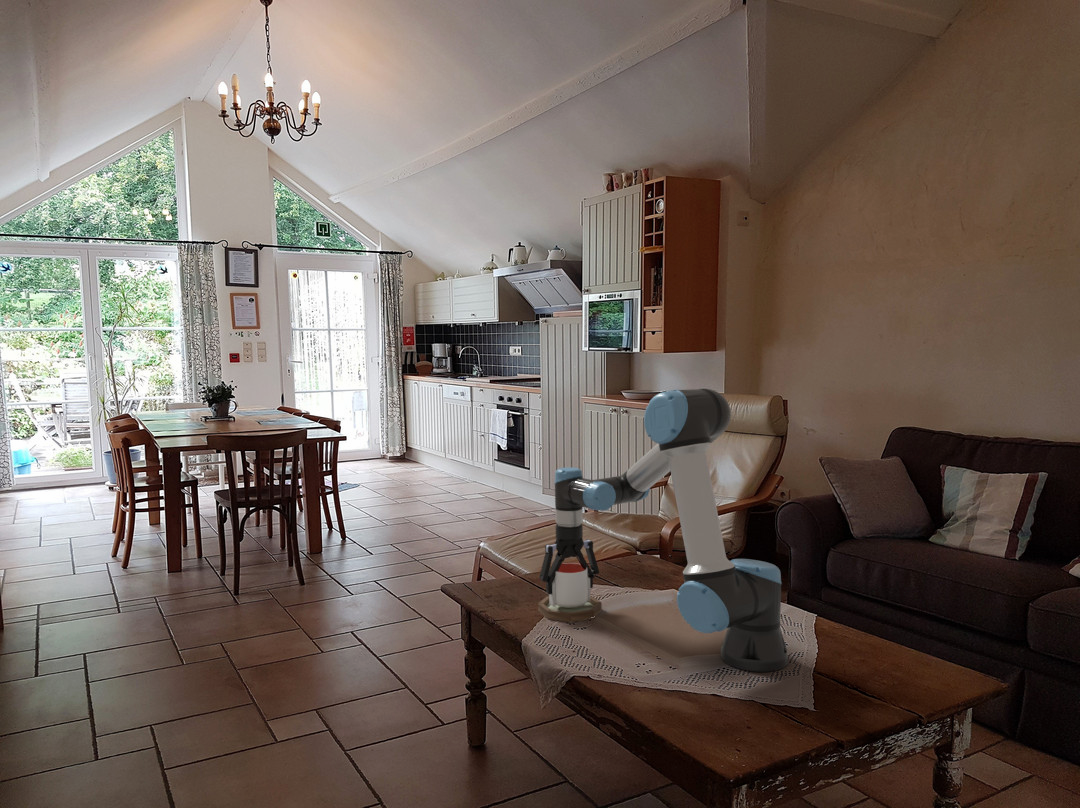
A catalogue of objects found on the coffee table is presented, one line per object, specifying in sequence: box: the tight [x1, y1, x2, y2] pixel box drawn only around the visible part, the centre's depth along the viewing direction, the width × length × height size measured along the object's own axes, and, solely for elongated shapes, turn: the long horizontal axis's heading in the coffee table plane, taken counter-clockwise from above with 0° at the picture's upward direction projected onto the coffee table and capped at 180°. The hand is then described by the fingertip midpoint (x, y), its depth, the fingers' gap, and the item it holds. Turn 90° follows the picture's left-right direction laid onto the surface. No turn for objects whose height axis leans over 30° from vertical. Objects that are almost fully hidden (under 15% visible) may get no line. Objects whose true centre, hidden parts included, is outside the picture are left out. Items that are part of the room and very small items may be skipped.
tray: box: [537, 594, 603, 623], centre depth 214 cm, size 16×16×2 cm
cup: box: [553, 562, 588, 608], centre depth 213 cm, size 10×10×10 cm
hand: (569, 602), depth 213 cm, fingers closed on cup, 10 cm apart
